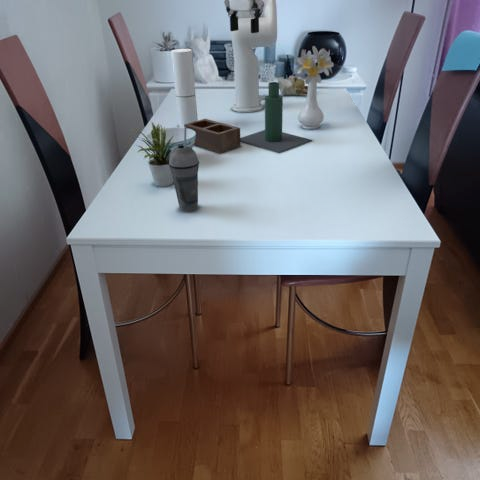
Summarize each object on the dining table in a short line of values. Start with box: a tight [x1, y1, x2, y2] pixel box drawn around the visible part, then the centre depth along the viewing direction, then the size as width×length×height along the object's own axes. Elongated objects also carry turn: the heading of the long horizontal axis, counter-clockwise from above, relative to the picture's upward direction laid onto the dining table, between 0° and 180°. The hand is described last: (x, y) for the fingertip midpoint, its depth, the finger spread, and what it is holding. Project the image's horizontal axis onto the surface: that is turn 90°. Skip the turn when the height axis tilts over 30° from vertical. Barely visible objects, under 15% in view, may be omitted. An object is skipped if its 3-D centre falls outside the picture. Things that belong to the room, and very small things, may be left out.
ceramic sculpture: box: [277, 73, 308, 96], centre depth 214 cm, size 11×9×15 cm
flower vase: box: [294, 45, 335, 130], centre depth 169 cm, size 13×18×25 cm
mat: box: [240, 129, 313, 154], centre depth 165 cm, size 16×20×1 cm
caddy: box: [184, 118, 242, 154], centre depth 163 cm, size 9×17×6 cm, turn 44°
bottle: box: [264, 81, 284, 142], centre depth 160 cm, size 6×6×18 cm
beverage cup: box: [169, 126, 200, 213], centre depth 118 cm, size 7×7×20 cm
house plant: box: [130, 121, 180, 188], centre depth 134 cm, size 14×14×16 cm
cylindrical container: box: [170, 48, 198, 128], centre depth 176 cm, size 7×7×25 cm
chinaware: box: [145, 127, 196, 156], centre depth 151 cm, size 15×15×8 cm
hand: (244, 31), depth 162 cm, fingers open, 9 cm apart
